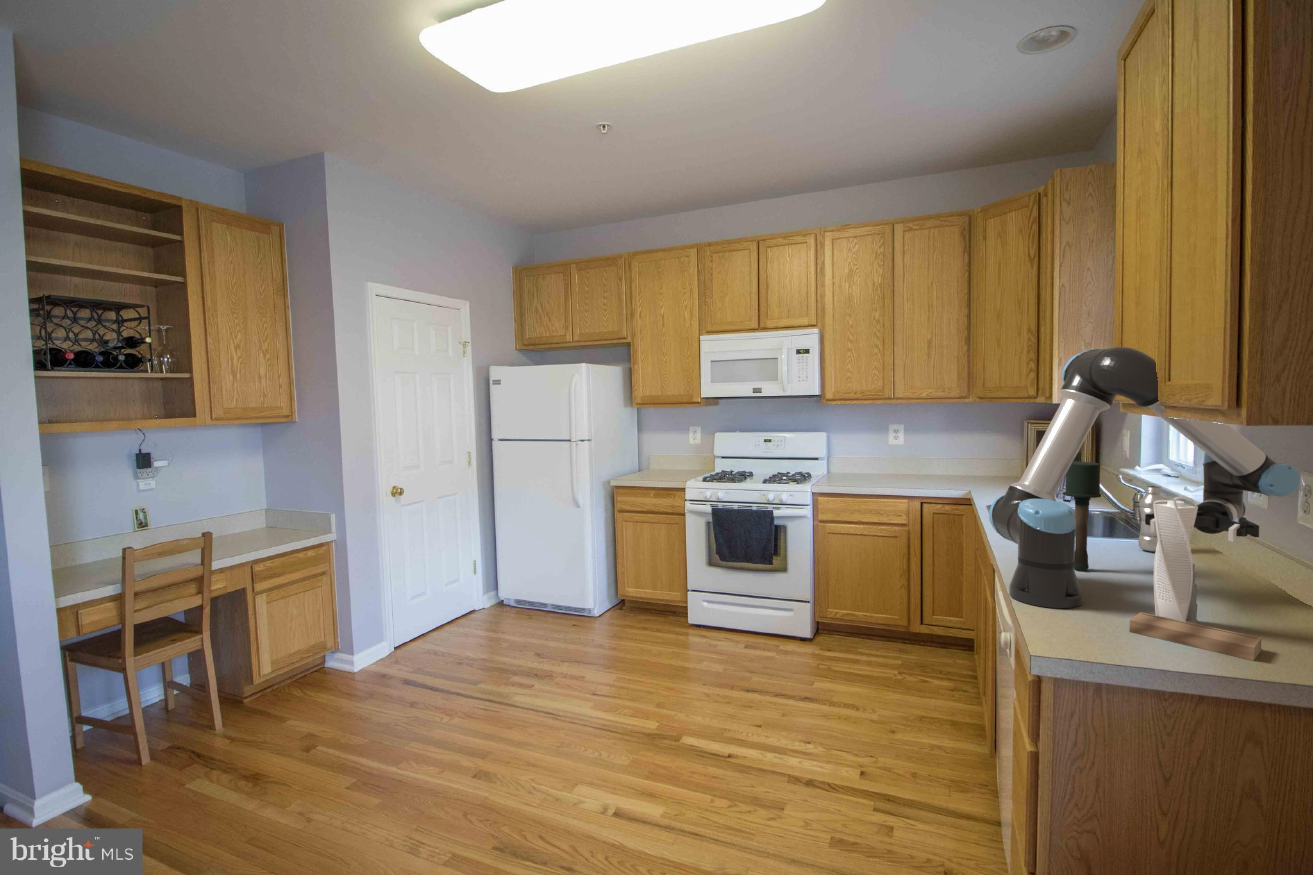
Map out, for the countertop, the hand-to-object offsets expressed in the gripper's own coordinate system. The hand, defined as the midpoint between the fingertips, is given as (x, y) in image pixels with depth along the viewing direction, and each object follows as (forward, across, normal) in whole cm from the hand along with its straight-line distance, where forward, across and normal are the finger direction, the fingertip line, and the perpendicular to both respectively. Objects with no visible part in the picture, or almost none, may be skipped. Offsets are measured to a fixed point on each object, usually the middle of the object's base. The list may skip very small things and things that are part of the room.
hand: (1189, 530), depth 140 cm
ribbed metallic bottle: (-57, +21, -19) cm, 64 cm away
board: (+20, -5, -18) cm, 27 cm away
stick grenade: (-20, +28, -19) cm, 39 cm away
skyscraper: (+11, 0, -19) cm, 21 cm away
